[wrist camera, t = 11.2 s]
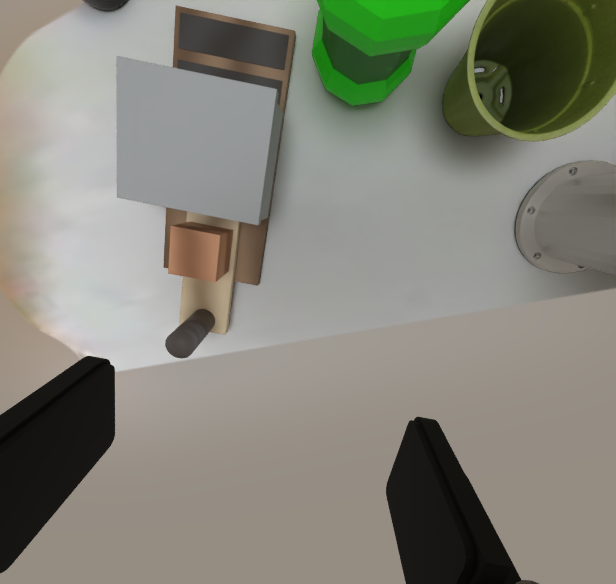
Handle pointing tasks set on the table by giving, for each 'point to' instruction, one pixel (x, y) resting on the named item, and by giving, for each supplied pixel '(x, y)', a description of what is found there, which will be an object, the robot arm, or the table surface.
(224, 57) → the track board
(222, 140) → the tunnel
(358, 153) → the table surface
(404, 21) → the plastic bottle
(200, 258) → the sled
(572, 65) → the plant pot
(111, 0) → the supplement bottle
